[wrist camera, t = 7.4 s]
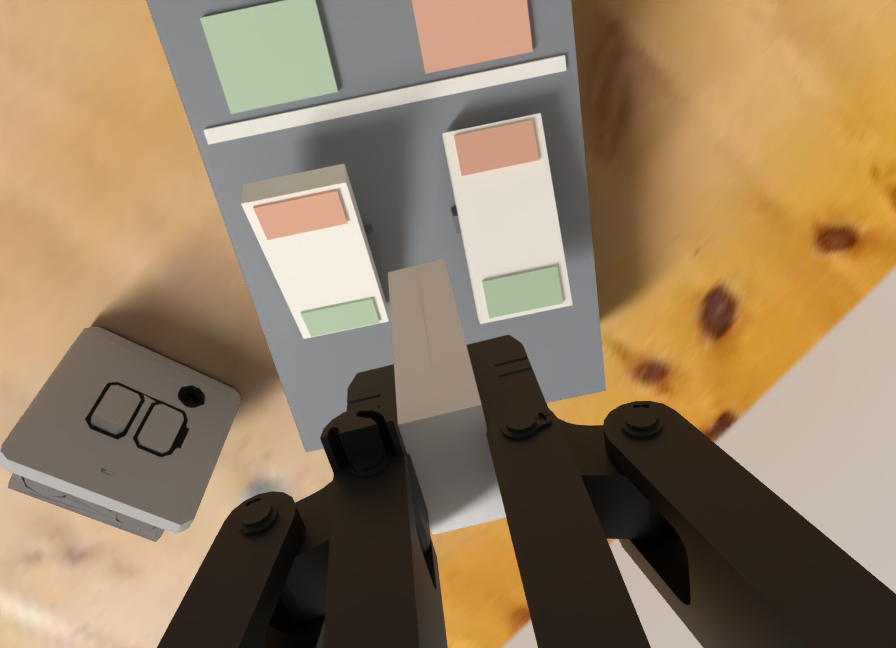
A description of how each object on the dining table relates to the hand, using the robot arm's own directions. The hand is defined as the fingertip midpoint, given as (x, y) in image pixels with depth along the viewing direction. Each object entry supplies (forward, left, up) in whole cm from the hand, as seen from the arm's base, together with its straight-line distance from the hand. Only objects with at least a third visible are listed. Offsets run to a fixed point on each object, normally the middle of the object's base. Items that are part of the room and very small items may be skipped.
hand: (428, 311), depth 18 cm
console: (+2, 0, -19) cm, 19 cm away
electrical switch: (+11, -17, -19) cm, 28 cm away
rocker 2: (+2, +4, -11) cm, 12 cm away
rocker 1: (+2, -4, -11) cm, 12 cm away
